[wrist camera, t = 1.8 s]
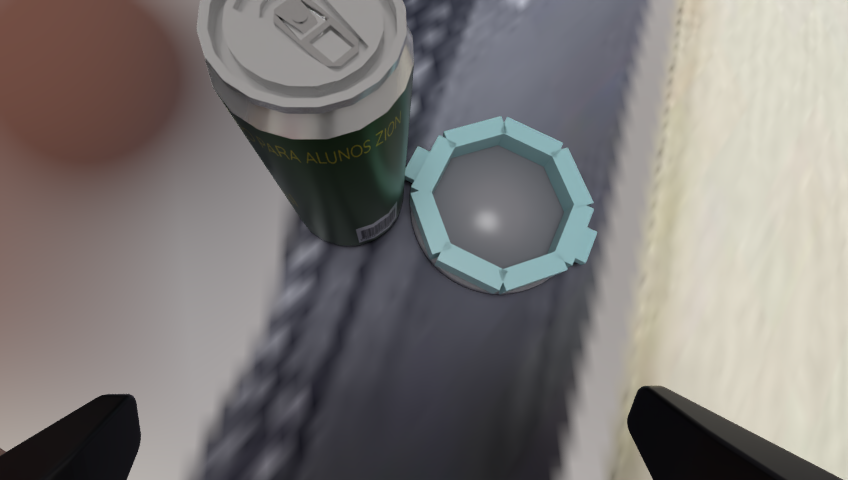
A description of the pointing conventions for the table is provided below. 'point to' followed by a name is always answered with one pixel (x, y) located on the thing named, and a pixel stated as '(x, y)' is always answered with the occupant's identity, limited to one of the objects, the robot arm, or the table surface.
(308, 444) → the table surface
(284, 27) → the beer can
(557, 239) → the teal ring frame
